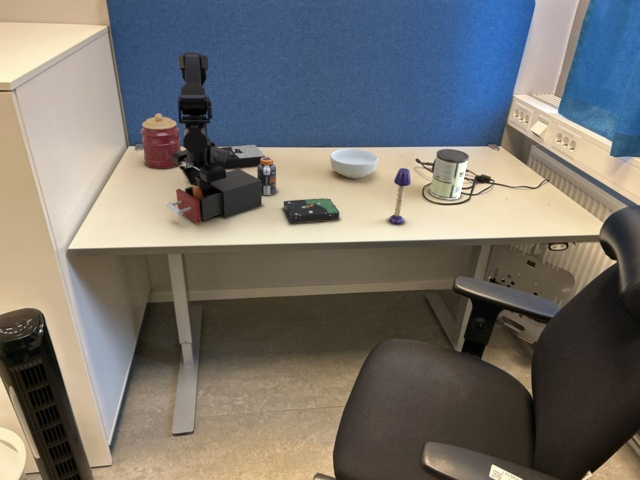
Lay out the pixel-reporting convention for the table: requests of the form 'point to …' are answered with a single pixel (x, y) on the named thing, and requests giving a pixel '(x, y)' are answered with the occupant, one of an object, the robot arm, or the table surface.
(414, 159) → the table surface
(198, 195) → the brown short cylinder
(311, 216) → the disk drive
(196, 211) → the pod drawer
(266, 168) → the pill bottle
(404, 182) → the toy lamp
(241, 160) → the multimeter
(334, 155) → the cereal bowl
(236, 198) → the drawer cabinet
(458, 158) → the coffee can
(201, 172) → the robot arm
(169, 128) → the kitchen canister
